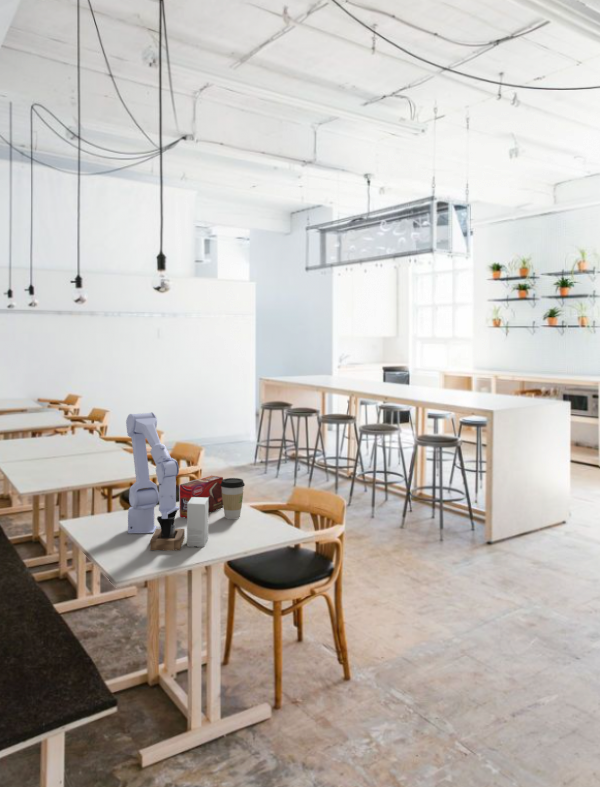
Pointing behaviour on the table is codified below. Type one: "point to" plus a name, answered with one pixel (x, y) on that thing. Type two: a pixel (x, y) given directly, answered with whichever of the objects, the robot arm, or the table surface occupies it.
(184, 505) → the ice cream box
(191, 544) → the skincare box
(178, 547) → the well block
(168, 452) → the robot arm
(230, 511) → the coffee cup
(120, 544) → the table surface
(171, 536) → the tall grey block
